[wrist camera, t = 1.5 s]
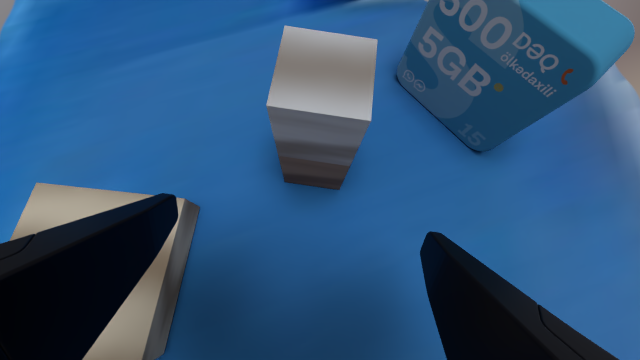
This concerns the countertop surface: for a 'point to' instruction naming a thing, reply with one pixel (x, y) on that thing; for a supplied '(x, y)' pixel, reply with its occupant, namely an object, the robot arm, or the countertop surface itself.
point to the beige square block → (153, 288)
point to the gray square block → (320, 103)
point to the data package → (508, 61)
